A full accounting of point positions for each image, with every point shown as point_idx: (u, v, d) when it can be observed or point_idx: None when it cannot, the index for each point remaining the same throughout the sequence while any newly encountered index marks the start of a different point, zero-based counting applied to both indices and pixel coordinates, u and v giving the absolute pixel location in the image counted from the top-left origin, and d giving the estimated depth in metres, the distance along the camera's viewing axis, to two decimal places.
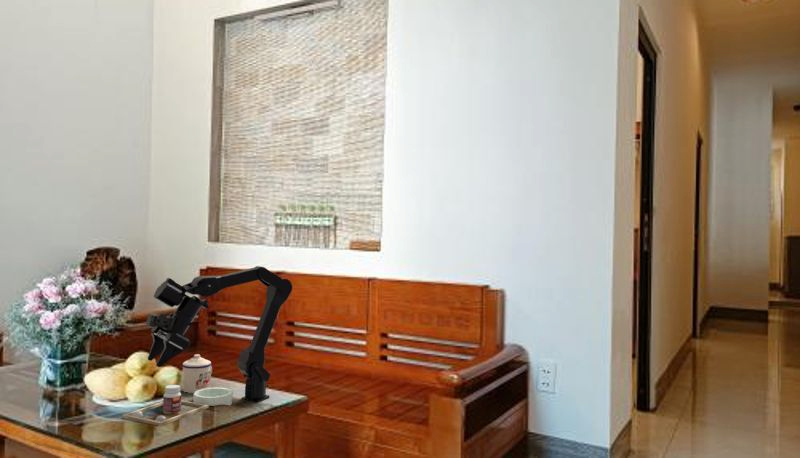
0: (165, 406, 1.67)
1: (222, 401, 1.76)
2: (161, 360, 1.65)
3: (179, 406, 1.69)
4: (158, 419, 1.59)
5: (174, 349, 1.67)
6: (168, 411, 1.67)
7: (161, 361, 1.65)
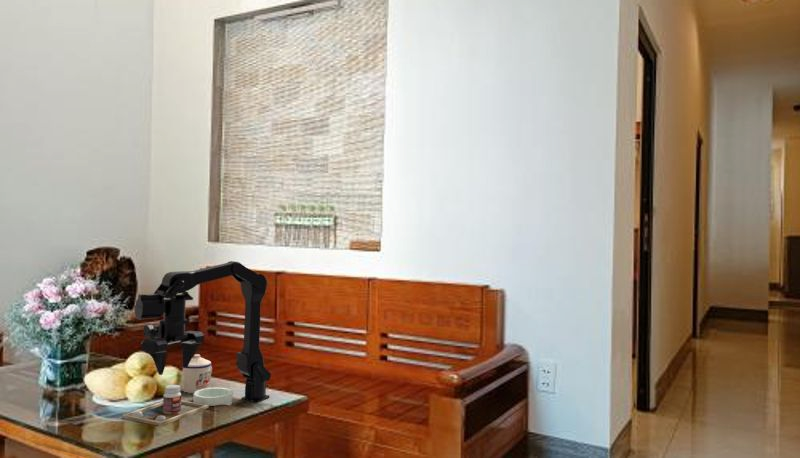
0: (165, 406, 1.67)
1: (222, 401, 1.76)
2: (157, 368, 1.64)
3: (179, 406, 1.69)
4: (158, 419, 1.59)
5: None
6: (168, 411, 1.67)
7: (158, 369, 1.64)
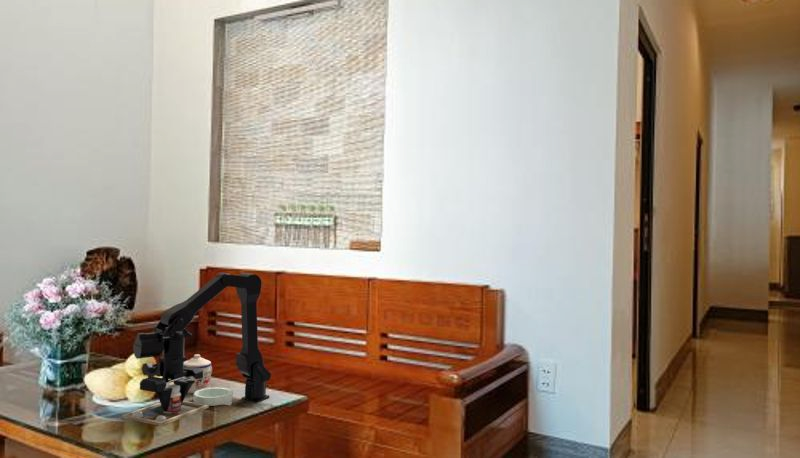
0: None
1: (222, 401, 1.76)
2: (162, 404, 1.66)
3: (179, 406, 1.69)
4: (158, 419, 1.59)
5: (164, 391, 1.65)
6: (168, 411, 1.67)
7: (163, 406, 1.66)
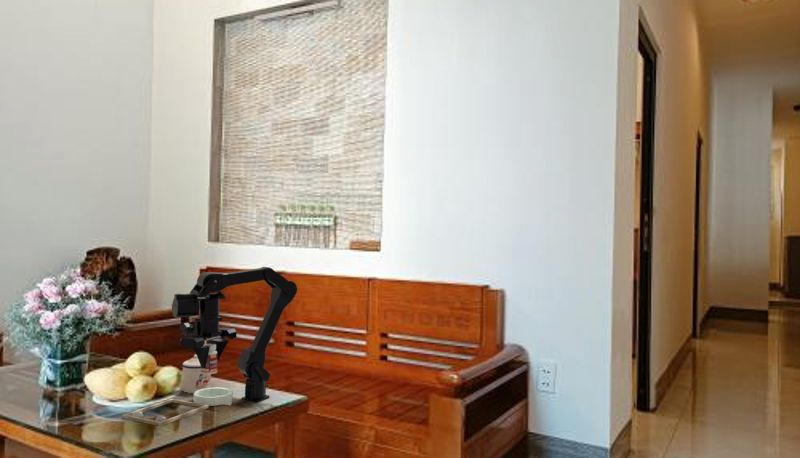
0: None
1: (222, 401, 1.76)
2: (200, 362, 1.76)
3: (216, 363, 1.78)
4: (158, 419, 1.59)
5: (202, 349, 1.75)
6: (205, 368, 1.76)
7: (201, 363, 1.76)
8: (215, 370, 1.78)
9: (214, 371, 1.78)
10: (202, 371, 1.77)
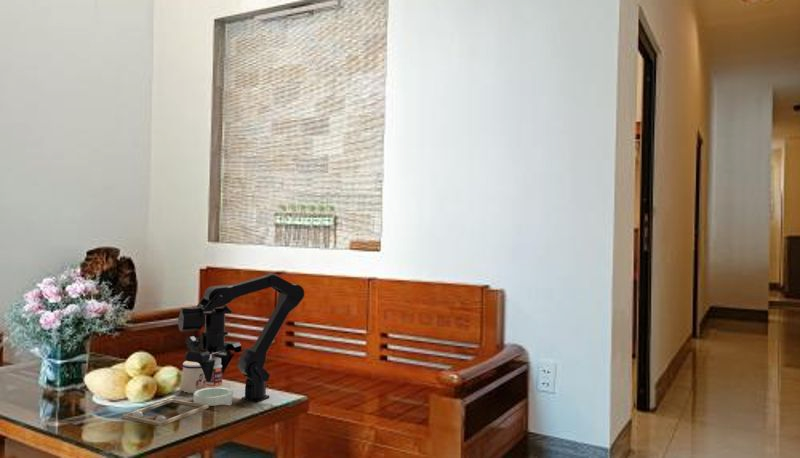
0: None
1: (222, 401, 1.76)
2: (205, 375, 1.77)
3: (221, 377, 1.80)
4: (158, 419, 1.59)
5: (207, 363, 1.76)
6: (210, 382, 1.78)
7: (206, 376, 1.77)
8: (220, 384, 1.80)
9: (219, 384, 1.79)
10: (207, 384, 1.78)
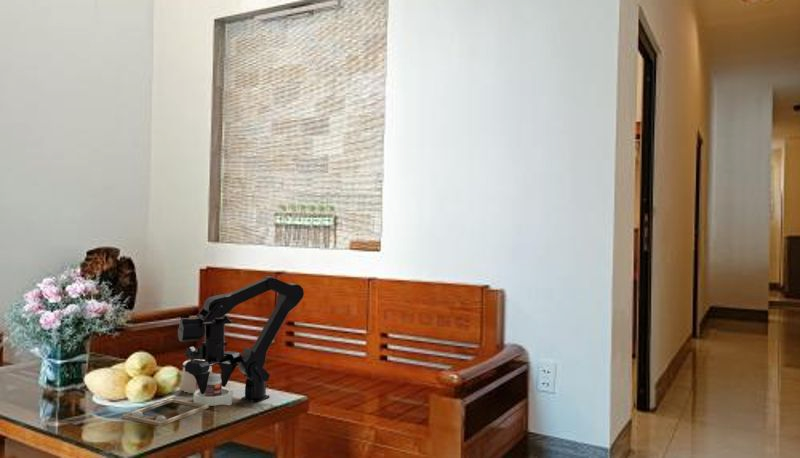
0: (207, 393, 1.78)
1: (222, 401, 1.76)
2: (200, 387, 1.76)
3: (220, 393, 1.80)
4: (158, 419, 1.59)
5: None
6: None
7: (200, 388, 1.75)
8: None
9: None
10: None
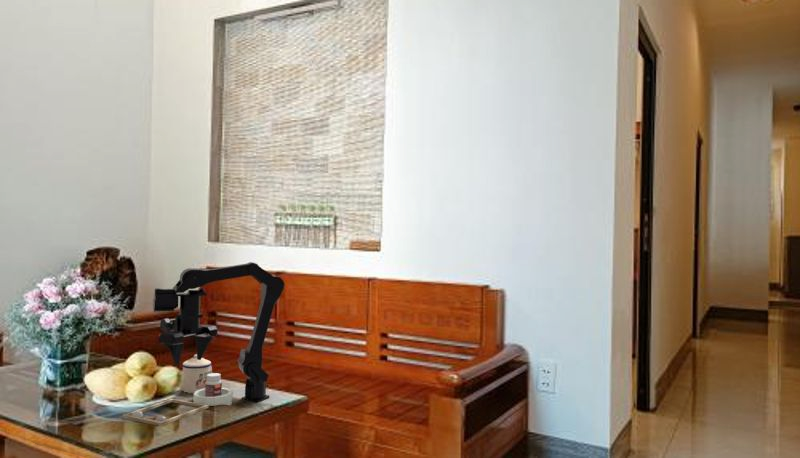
0: (207, 393, 1.78)
1: (222, 401, 1.76)
2: (174, 359, 1.74)
3: (220, 393, 1.80)
4: (158, 419, 1.59)
5: (176, 346, 1.73)
6: None
7: (175, 360, 1.74)
8: None
9: None
10: None
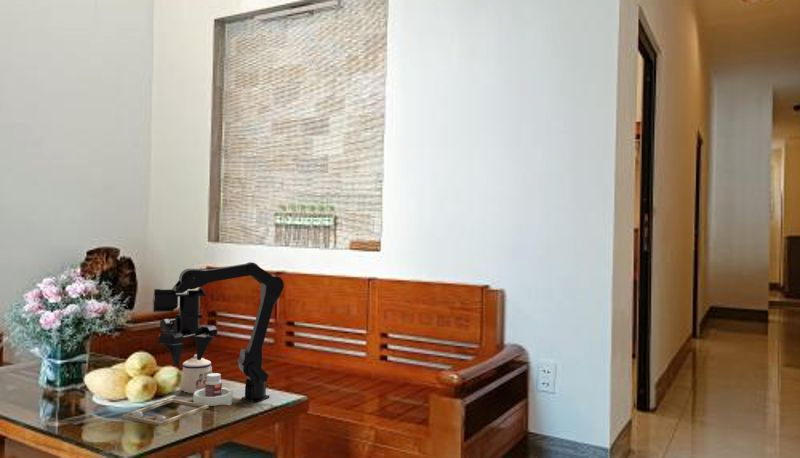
0: (207, 393, 1.78)
1: (222, 401, 1.76)
2: (173, 359, 1.74)
3: (220, 393, 1.80)
4: (158, 419, 1.59)
5: (176, 346, 1.73)
6: None
7: (174, 360, 1.74)
8: None
9: None
10: None
